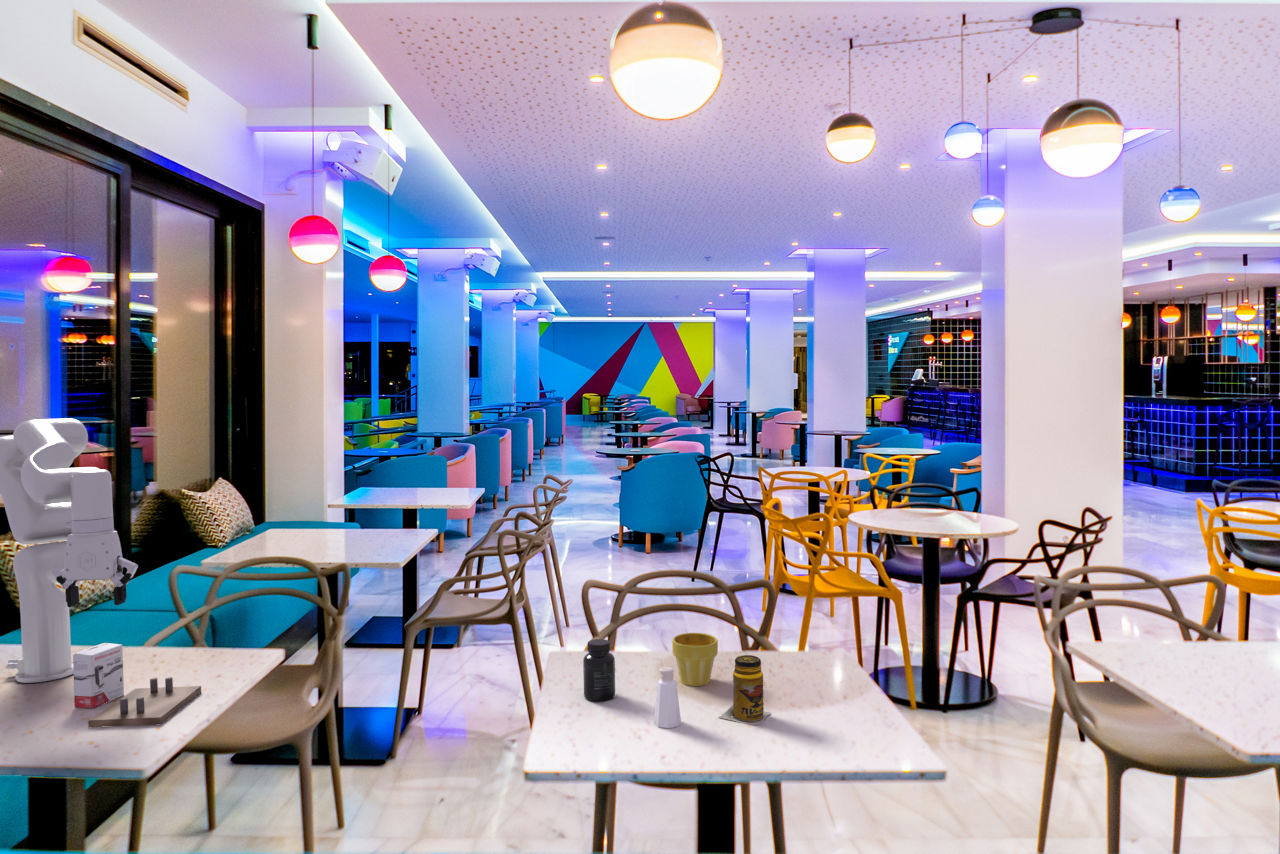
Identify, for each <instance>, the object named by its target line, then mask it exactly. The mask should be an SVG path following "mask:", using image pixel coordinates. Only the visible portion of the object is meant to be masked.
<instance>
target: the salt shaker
mask: <svg viewBox="0 0 1280 854" xmlns="http://www.w3.org/2000/svg"><path fill="white" fill-rule="evenodd" d="M659 672H660V673H659V677H660V678H659V680H657V686H656V694H655V695H656V696H655V706H654V715H653V724H654V725H655V726H656V727H658V728H662V729H673V728H678V726H680V724H681V723H682V719H681V718H682V717H681V712H680V709H681V708H680V703H679V700H680V699H679V693H678V685H677V681H676V680H675V679H674V672H675V669H674V668H673V667H670V666H663V667H660V668H659Z"/></svg>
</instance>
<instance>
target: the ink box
mask: <svg viewBox="0 0 1280 854" xmlns="http://www.w3.org/2000/svg"><path fill="white" fill-rule="evenodd" d="M123 652H124V650H123V644H119V643H111V642H110V643H109V642H102V643H100V644H97V645H94V646H91V647H87V648H85V649H83V650H82V649H81V650H78V651H76V652H75V653H74V654H72V662H73V674H72V675H73V696H74V709H75V708H77V709H79V708H80V709H90V710H91V709H92V710H93V708H94V709H95V708H98V707H100V706H102V704H103V705H105V704H107V703H109V702H108V701H110V702H111V700H112V701H114V700H116V699H115V698H117V697H119V698H121V697H123V696H125V686H124V685H125V684H124V656H123ZM122 695H123V696H122ZM120 696H121V697H120ZM113 699H114V700H113ZM117 699H118V698H117ZM106 702H107V703H106ZM104 703H105V704H104Z"/></svg>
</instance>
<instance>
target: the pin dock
mask: <svg viewBox="0 0 1280 854" xmlns="http://www.w3.org/2000/svg"><path fill="white" fill-rule="evenodd" d="M173 679H174V678H173V677H171V676H169V677H166V678H164V680H165V683H164V684H165V687H158V678H157V677H151V678H150V679H149V685H150V686H149V687H142V688H135V689H133V690H131V691H130V692H129V693H127V694H126V695H125V694H124V695H123V696H121V697H120V698H118V700H117V701H115V702H113V703H112V704H111V705H109V706H107V707H106V708H105V709H103V710H101V711H100V712H99V713H97V714H95V715H94V716H93V717H91V718H89V719H88V721H87V723H88V728H89V727H93V728H103V727H102V726H116V727H134V726H138V725H139V726H156V724H161V725H163V724H164V723H165V722H166V721H168V718H169V717H170V718H172V716H174V715H175V714H176V713H178V712H179V711H180V710H181V709H182V708H183V706H184V705H185V706H187V705H188V704H189V703H190V702H191V701H193V698H194V697H195V696H196V697H197V696H198V694H199V693H200V694H202V686H201V685H190V686H189V685H188V686H174V683H173V682H174V681H173ZM200 694H199V695H200ZM196 697H195V698H196ZM195 698H194V699H195ZM190 700H191V701H190ZM189 701H190V702H189ZM188 702H189V703H188ZM185 706H184V707H185ZM181 707H182V708H181ZM180 708H181V709H180ZM179 709H180V710H179ZM178 710H179V711H178ZM174 713H175V714H174ZM173 714H174V715H173ZM170 718H169V719H170ZM163 722H164V723H163Z"/></svg>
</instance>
